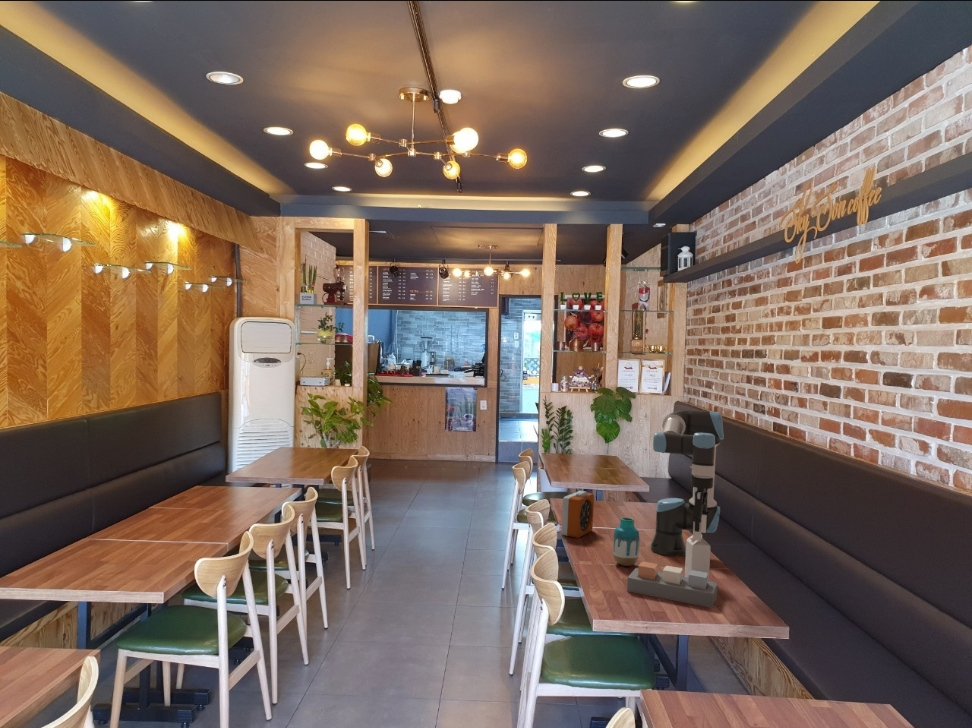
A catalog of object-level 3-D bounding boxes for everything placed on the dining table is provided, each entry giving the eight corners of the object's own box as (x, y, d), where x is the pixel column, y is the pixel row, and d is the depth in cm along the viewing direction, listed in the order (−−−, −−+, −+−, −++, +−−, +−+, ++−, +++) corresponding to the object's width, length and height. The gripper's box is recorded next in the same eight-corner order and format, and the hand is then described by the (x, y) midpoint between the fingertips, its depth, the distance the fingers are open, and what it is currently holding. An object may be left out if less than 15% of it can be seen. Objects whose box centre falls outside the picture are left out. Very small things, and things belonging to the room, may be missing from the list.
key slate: (690, 585, 241) (691, 569, 241) (707, 588, 238) (708, 572, 238) (687, 590, 235) (688, 574, 235) (705, 594, 233) (706, 577, 233)
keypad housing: (635, 580, 253) (635, 567, 253) (716, 596, 240) (717, 582, 240) (627, 591, 241) (627, 577, 241) (712, 608, 228) (713, 593, 228)
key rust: (641, 576, 249) (642, 561, 249) (657, 579, 246) (658, 564, 246) (637, 581, 243) (638, 565, 243) (654, 584, 241) (654, 568, 241)
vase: (610, 566, 269) (612, 520, 268) (614, 559, 279) (616, 514, 278) (636, 570, 265) (638, 523, 265) (639, 562, 275) (641, 517, 275)
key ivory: (665, 581, 245) (666, 565, 245) (682, 584, 242) (682, 568, 242) (662, 585, 239) (663, 570, 239) (679, 589, 237) (680, 573, 237)
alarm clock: (577, 539, 307) (579, 495, 307) (560, 535, 312) (562, 492, 311) (593, 530, 323) (594, 489, 322) (576, 527, 328) (578, 486, 327)
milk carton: (702, 578, 259) (704, 530, 259) (708, 584, 252) (711, 535, 252) (684, 577, 259) (686, 529, 259) (690, 583, 252) (693, 534, 252)
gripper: (696, 470, 249) (693, 527, 249) (686, 480, 227) (683, 542, 227) (717, 472, 245) (714, 530, 246) (708, 482, 224) (705, 545, 224)
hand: (699, 536), depth 237 cm, fingers open, 12 cm apart
